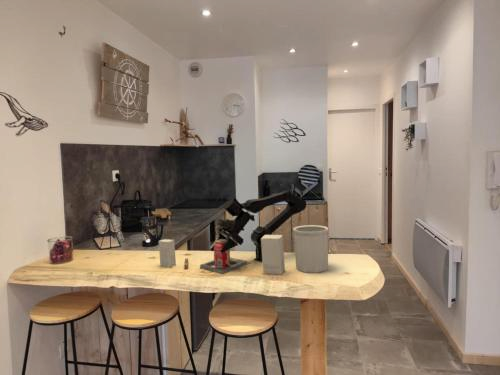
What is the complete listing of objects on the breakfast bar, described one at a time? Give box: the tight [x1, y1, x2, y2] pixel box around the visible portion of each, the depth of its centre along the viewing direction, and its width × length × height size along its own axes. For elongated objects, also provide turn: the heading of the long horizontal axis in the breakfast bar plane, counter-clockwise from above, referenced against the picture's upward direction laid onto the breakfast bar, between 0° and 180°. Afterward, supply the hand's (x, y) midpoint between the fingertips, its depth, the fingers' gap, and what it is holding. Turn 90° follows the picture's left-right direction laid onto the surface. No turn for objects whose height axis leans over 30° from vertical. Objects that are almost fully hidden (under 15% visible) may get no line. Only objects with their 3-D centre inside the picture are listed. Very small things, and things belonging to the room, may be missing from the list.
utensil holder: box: [292, 224, 329, 274], centre depth 157 cm, size 15×15×18 cm
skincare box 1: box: [158, 238, 177, 268], centre depth 168 cm, size 6×4×12 cm
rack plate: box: [199, 256, 248, 275], centre depth 164 cm, size 14×16×2 cm
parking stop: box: [183, 257, 189, 270], centre depth 167 cm, size 10×2×2 cm, turn 8°
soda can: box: [213, 239, 231, 269], centre depth 163 cm, size 7×7×12 cm
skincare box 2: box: [261, 234, 286, 276], centre depth 153 cm, size 8×7×16 cm
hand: (218, 250), depth 162 cm, fingers open, 8 cm apart
